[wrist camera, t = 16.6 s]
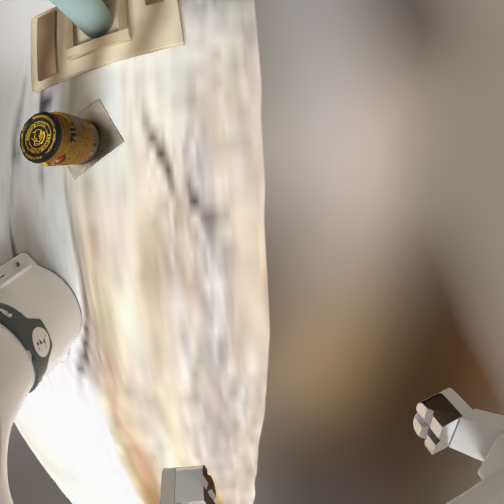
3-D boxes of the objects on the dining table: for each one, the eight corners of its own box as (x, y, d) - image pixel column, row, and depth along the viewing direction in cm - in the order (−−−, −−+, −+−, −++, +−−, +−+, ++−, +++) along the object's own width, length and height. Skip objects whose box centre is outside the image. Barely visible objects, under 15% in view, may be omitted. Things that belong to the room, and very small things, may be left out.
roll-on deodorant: (84, 42, 31) (36, -1, 16) (83, 17, 29) (39, -30, 15) (114, 32, 31) (76, -19, 17) (112, 7, 30) (78, -47, 16)
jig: (36, 92, 32) (26, 89, 29) (34, 21, 28) (26, 15, 26) (184, 44, 34) (182, 36, 31) (173, -26, 30) (171, -36, 27)
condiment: (52, 137, 35) (4, 132, 23) (99, 99, 35) (62, 79, 23) (75, 179, 37) (31, 187, 26) (124, 142, 37) (92, 135, 25)
